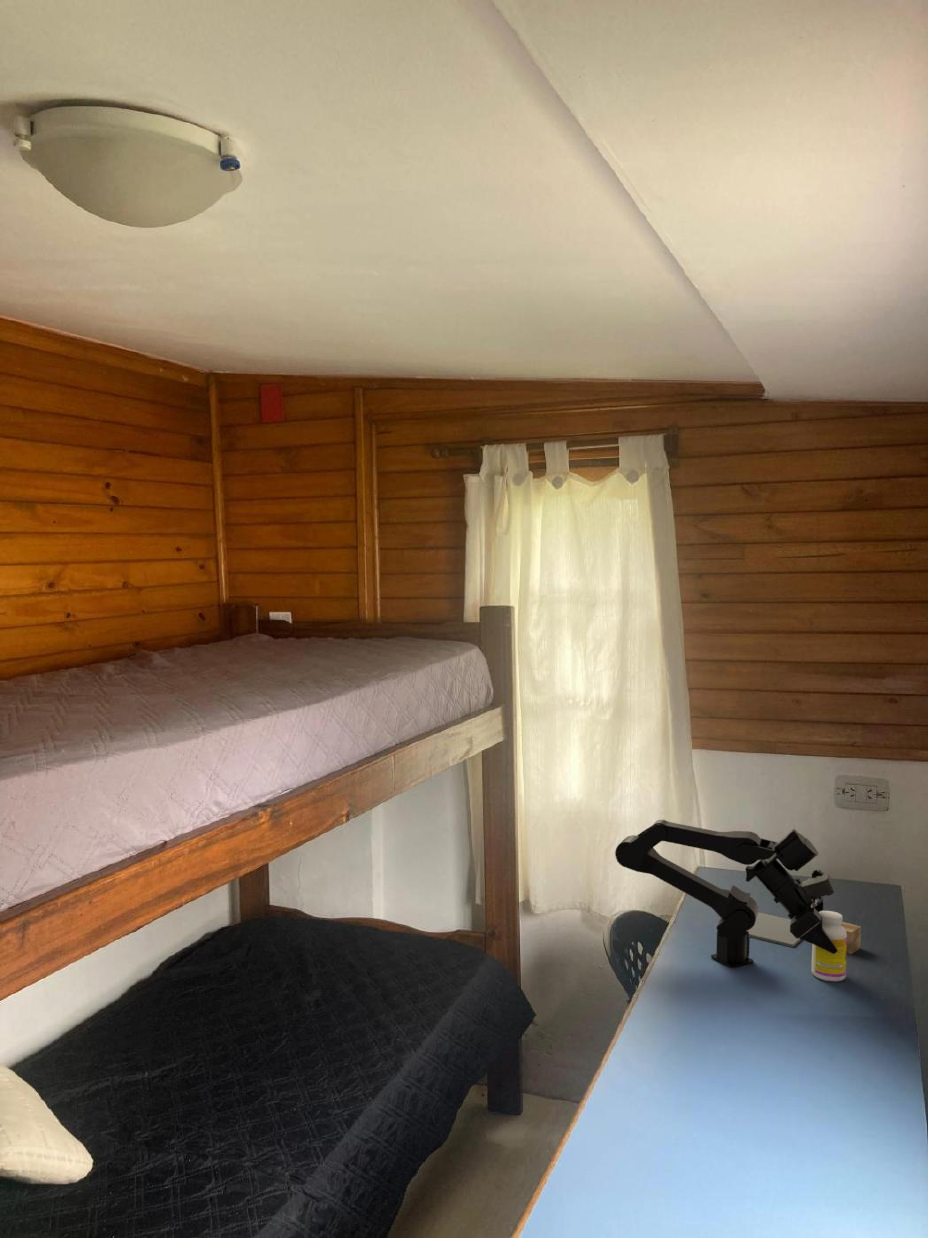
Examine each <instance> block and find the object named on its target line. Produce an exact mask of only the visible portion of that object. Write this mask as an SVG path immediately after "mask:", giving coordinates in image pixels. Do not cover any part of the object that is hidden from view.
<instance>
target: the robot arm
mask: <svg viewBox="0 0 928 1238" xmlns="http://www.w3.org/2000/svg"><path fill="white" fill-rule="evenodd" d="M661 842H666V843H672V844H676V845H682V846H686V847H690V848H695V849H700V850H705V851H710V852H714V853H717V854H720V855H722V856H723V857H725V858H727V859H728V860H731V861H734V862H736V863H739V864H741V865H745V866H746V867H745V872H746V873H745V874H746V876H745V881H746V882H751V881H752V880H753V879H754V878H755V877H756V879H757V880H758V881H759V882H760V884H762V886H764V887H765V889H766V890H767V891H768V892H769V893H770V894H771V895H772V897H773V901H774V902H775V904H778V903H779V904H780V905H781V907H783V909H784V910H785V911H786V912H787V917H789V918H788V919H790V920H791V923H790V932H791V933H792V934H793V935H794V937H795V938H796V939H798V938H799V939H800V940H801V941H805V942H807V943H810V944H814V945H816V946H818V947H820V948H822V949H824V950H826V951H829V952H831V953H833V954H835V953H836V952H837V951H838V950H837V948H836V947H835V945H834V944H833V942H832V941H831V939H830V938H829V936H828V935H827V933H826V932H825V930H824V929H823V927H822V921H823V918H822V917H821V916H820V914H819V912H820V911H825V910H824V902H825V901H824V900H825V899H824V897H825V896H828V897H829V896H831V895H834V894H835V889H836V888H835V885H834V884H833V881H832V880H831V876H830V875H829V873H827V872H823V871H822V870H821V869H820V868H817V869H814V870H811V877H809V878H807V879H805V880H803V881H802V880H801V879H800V878H799V877H798V876H797V877H796V876H792V874H791V873H790V872H789V871H791V872H792V871H795V872H798V871H799V870H801V869H802V868H804V867H805V866H806V865H807V864H809V863H810V862H811V861H812V860H813V859H815V858H816V857H817V856H818V855H819V852H818V850H817V848H816V847H815V846H814V844H813V843H812V842H811V841H810V839H808V838H807V837H805V836H804V835H803V834H801V833H800V832H798V831H797V830H796V829H795V828H793V829H792V830H790V831H789V832H788V834H786V836H785V837H783V838H782V839H781V840H780V841H773V840H769V839H766V838H761V837H760V836H759V834H757V833H755V832H753V831H747V830H731V831H716V830H710V829H707V828H700V827H697V826H691V825H686V824H682V823H676V822H673V821H672V822H671V821H668V820H665V819H659V820H656V821H655V822H654V823H653V824H652V825H650V826H649V827H647V828H646V829H644V830H643V831H641V832H639V833H638V834H637V835H635V834H631V835H628V836H626V837H624V839H623V840H622V841H621V842H619V844H618V845H617V847H616V848H615V852H614V854H615V859H616V862H617V863H618V864H619V865H621V867H624V868H626V869H628V870H631V871H635V872H638V873H641V874H649V875H651V876H654V877H656V878H658V879H659V880H661V881H663V882H664V883H666V884H668V885H670V886H671V887H674V888H675V889H677V890H680V891H681V892H683V893H685V894H687V895H688V896H690V897H691V898H694V899H695V900H697V901H699V902H700V903H703V904H705V905H706V906H708V907H709V908H711V909H712V910H713V911H714V912H715V913H716V914H717V915H718V917H719V918H720V919H719V921H718V923H717V926H716V930H717V931H716V953H713V954H711V955H710V958H711V959H714V960H715V961H718V962H720V963H721V964H723V965H725V966H727V967H730V968H738V967H741V966H745V965H749V964H753V963H754V962H755V961H754V959H753V958H750V940H751V939H750V938H751V937H749V932H748V931H746V930H749V929H751V928H752V927H753V926H754V925H755V922H756V918H757V915H758V912H759V906H758V903H757V901H756V900H755V899H754V898H752V896H751V893H749V892H745V891H743V890H741V889H740V888H738V886H736V885H734V884H733V885H731V888H730V890H729V889H724V888H720V887H718V886H716V885H715V884H712V883H710V882H709V881H707V880H705V879H703V878H701V877H700V876H698V875H696V874H694V873H693V872H690V871H689V870H687V869H685V868H684V867H682V866H680V865H678V864H677V863H674V862H672V861H671V860H668V859H667V858H665V857H663V856H661V854H660V853H659V852H658V851H657V850H656V849H655V848H654V847H655V846H657V845H658V844H660V843H661ZM753 864H754V865H753ZM817 899H818V900H817Z"/></svg>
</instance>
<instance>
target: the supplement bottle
mask: <svg viewBox="0 0 928 1238" xmlns="http://www.w3.org/2000/svg"><path fill="white" fill-rule="evenodd" d="M819 914H820V916H821V917H822V918H823V921H822V927H823V929H824V930H825V932H826V933H827V935H828V936H829V938H830V939H831V941H832V942H833V944H834V945H835V947H836V948H837V950H838V951H837V952H836V953H835V954H833V953H831V952H829V951H826V950H824V949H822V948H820V947H818V946H816V945H814V944H812V943H811V944H812V946H811V973H812V974H813V976H814V977H816V978H817V979H819V980H821V981H826V982H842V981H843V980H845V979H846V977H847V953H846V951H847V932H846V930H845V929H844V928H843V927H842V926H841V923H842V922H843V915H842V914H841V913H839V912H836V911H833V910H832V911H831V910H824V911H820V912H819Z"/></svg>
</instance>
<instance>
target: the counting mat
mask: <svg viewBox="0 0 928 1238" xmlns="http://www.w3.org/2000/svg"><path fill="white" fill-rule="evenodd" d="M790 923H791V919H790V918H785V917H780V916H776V915H771V914H767V913H763V912H760V911H758V915H757V918H756V922H755V925H754V926H753V927H752V928H751V929H749V930H746V931H748V932H749V938H752V939H757V940H761V941H766V942H769V943H773V944H777V943H778V945H782V946H787V947H790V948H794V947H795V946H797V945H798V944H799V943H800V942H801V941H802V940H800V939H799V938H798V939H796V938H795V937H794V935H793V934H792V933H791V932H790Z"/></svg>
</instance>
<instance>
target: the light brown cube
mask: <svg viewBox="0 0 928 1238" xmlns="http://www.w3.org/2000/svg"><path fill="white" fill-rule="evenodd" d="M841 926H842V927H843V928H844V929H845V930H846V932H847V951H846V954H848V955H852V954H854V953H855V952H857V951H859V950H860V949H861V940H862V939H861V937H862V936H861V935H862V926H859V925H856V924H853V923H848V922H845V921H842V923H841Z"/></svg>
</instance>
